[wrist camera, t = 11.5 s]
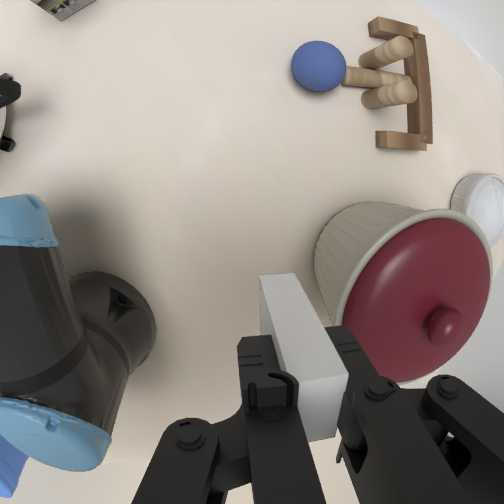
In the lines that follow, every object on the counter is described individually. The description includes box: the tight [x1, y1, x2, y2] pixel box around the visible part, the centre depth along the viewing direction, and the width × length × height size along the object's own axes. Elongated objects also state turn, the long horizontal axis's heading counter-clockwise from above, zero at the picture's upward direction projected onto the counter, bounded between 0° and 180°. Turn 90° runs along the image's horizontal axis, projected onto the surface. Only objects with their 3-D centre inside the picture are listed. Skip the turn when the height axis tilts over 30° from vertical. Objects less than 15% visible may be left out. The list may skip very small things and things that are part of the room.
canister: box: [314, 202, 493, 385], centre depth 30 cm, size 18×18×21 cm
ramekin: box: [451, 173, 504, 247], centre depth 37 cm, size 11×11×5 cm
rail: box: [368, 17, 433, 151], centre depth 32 cm, size 7×17×3 cm, turn 2°
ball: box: [291, 41, 346, 92], centre depth 29 cm, size 6×6×6 cm
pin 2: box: [361, 80, 418, 109], centre depth 29 cm, size 2×2×9 cm
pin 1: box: [359, 36, 414, 70], centre depth 28 cm, size 2×2×9 cm
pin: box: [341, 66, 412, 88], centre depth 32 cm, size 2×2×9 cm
